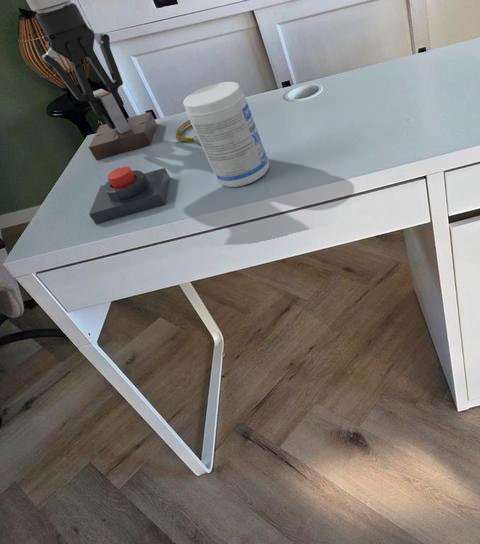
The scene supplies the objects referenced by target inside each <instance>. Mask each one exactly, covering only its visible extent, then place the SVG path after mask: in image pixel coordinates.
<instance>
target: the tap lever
mask: <svg viewBox="0 0 480 544" xmlns="http://www.w3.org/2000/svg"><path fill="white" fill-rule="evenodd" d="M92 92H93V94H94V96H95V97H97V98H99V99H100V100H101V102H102V104H103V105H104V107H105V109H106V111H107V113H108V114H109V116H110V118H111V120H112V122H113V123H114V125H115V127H116V128H115V129H114V130H116V131H118V132H120V133H121V134H122V133H125V132H127V131H129V130H131V128H130V127H129V125H128V123H127V121H126V119H125V117H124V115H125V114H124V115H123V113H124V112H123V113H122V112H121V110H120V108H119V106H118V104H117V102H116V100H115V99H114V97H113V95H112V93H110V92H109V91H108V90H105V89H103V88H99V89H96V90H93V91H92Z"/></svg>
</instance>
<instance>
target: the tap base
mask: <svg viewBox="0 0 480 544" xmlns="http://www.w3.org/2000/svg"><path fill="white" fill-rule="evenodd" d="M126 118H127V120H128V125H129V127H130V128H131V130H129V131H127V132H125V133H122V134H121V133H120V132H118V131H116V130H114V129H111V128H110V127H109V126H108V125H107V123H105V124H101V125H99V126H98V128H97V129H96V131H95V134H94V136H93V138H92V140H91V142H90V143H89V145H88V149H89V151H90V153H91V154H92V156H93V157H94V159H95V160H96V161H97V160H101V159H105V158H109V157H111V156H116V155H119V154H123V153H127V152H129V151H133V150H137V149H141V148H144V147H148V146H151V145H152V142H153V137H154V134H155V131H156V127H157V122H156V119H155V118H154V116H153V113H152V112H151V111H149V112H145V113H141V114H137V115H134V116H130V117H126ZM126 151H127V152H126Z"/></svg>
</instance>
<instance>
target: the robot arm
mask: <svg viewBox="0 0 480 544" xmlns="http://www.w3.org/2000/svg"><path fill="white" fill-rule="evenodd" d="M25 1H26V3H27V4H28V6H29V8H30V10H31V11H32V12H36V14H35V19H36V20H37V22H38V24H39V25H40V27H41V29H42V31H43V32H44V34H45V36H46V37H47V40H48V47H49V49H48V50H47V51H46V53H43V54H42V55H41V59H42V61H43V62H45V63H46V64H48V65H49V66H50V67H51V68H52V69H53V70H54V72H55V73H56V74H57V75H58V77H59V78H60V79H61V81H62V82H63V84H64V85H65V86H66V87H67V89H68V90H69V91H70V93H71V94H72V95H73V96H74V98H75V99H76V100H78V101H79V102H81V103H82V102H88V103H89V105H90V106H91V108H92V110H93V112H94V114H96V116H99V117H100V116H102V118H103V120H104V121H105V124H107V125H108V126H109V127H110V128H111V129H115V128H116V127H115V125H114V123H113V122H112V120H111V118H110V116H109V114H108V113H107V111H106V109H105V107H104V105H103V104H102V102H101V100H100V99H99V98H97V97H95V96H94V94H93V92H94V91H93V89H92V87H91V84H90V82H89V81H88V78H87V75H86V73H85V71H84V69H83V67H82V62H81V60H82V59H84V58H85V59H86V60H87V61H88V62H89V64H90V65H91V67H92V69H93V70H94V72H95V73H96V74H97V76H98V78H99V79H100V80H101V81H102V83H103V85H104V86H105V88H106V89H107V91H108V92H110V93H112V95H113V97H114V99H115V100H116V102H117V104H118V106H119V108H120V110H121V112H122V113H123V115H124V117H125V119H126V121H127V123H128V120H127V118H128V117H126V115H125V113H124V111H123V109H122V107H124V105H125V103H124V101H123V99H122V97H121V95H120V93H119V88H120V87H121V86H123V85H124V81H123V78H122V75H121V74H120V70H119V67H118V65H117V63H116V59H115V57H114V54H113V52H112V49H111V43H110V41H111V40H110V35H109V34H107V33H103V32H102V33H98V32H94V31H93V30H92V29H91V28H90V27H89V26H88V25H87V23H86V21H85V19H84V17H83V15H82V12H81V11H80V9H79V7H78V5H77V4H76V3H74V2H72V0H25ZM95 43H96V44H97V45H99V48H100V50H101V53H102V56H103V58H104V61H105V64H106V66H107V69H108V72H109V74H110V76H111V77H110V76H109V74H108V72H107V71H106V70H105V68H104V67H103V64H101V62H100V61H99V59H98V56H96V54H95V52H94V45H95ZM57 54H58V55H60V56H62V58H65V59H67V60H68V62H69V64H70V66H71V68H72V69H73V72H74V74H75V77H76V79H77V81H78V83H79V85H80V88H81V90H82V91H81V90H80V89H79V88H78V86H77V85H76V83H75V82H74V81H73V79H72V78H71V76H69V74H68V73H67V71H66V70H65V69H64V68H63V66H62V65H61V64H60V62H59V57H58V56H57ZM82 92H83V93H82Z"/></svg>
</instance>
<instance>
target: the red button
mask: <svg viewBox="0 0 480 544" xmlns="http://www.w3.org/2000/svg"><path fill="white" fill-rule="evenodd" d="M132 171H133V170H132V169H131V167H130V166H121V167H118V168H115V169H113V170H111V171H110V172H109V173H108V174H107V176H106V179H107V180H108V181H109V182H110V183H111V185H112V186H113V188H121V187H125V186H127V185H129V184H131V183H132V182H133V181H134V180H136V177H135V176H134V174H133V172H132Z"/></svg>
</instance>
